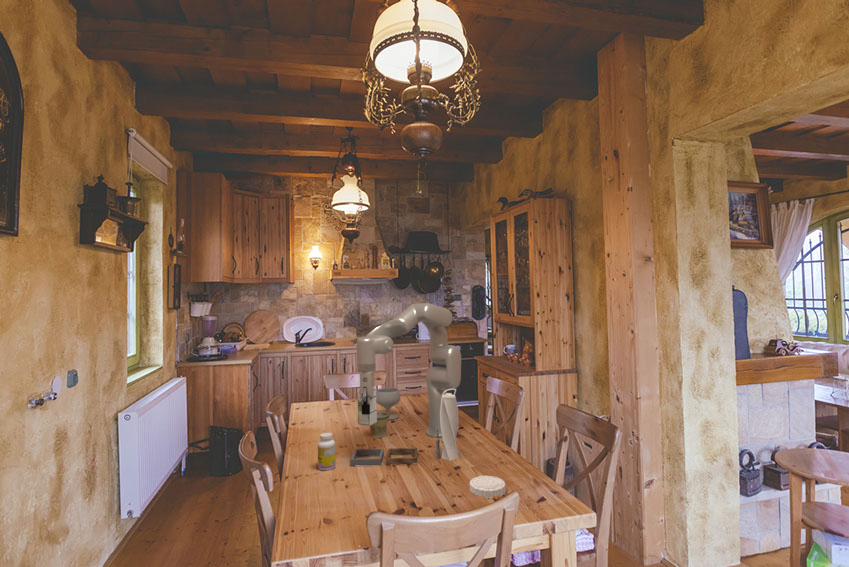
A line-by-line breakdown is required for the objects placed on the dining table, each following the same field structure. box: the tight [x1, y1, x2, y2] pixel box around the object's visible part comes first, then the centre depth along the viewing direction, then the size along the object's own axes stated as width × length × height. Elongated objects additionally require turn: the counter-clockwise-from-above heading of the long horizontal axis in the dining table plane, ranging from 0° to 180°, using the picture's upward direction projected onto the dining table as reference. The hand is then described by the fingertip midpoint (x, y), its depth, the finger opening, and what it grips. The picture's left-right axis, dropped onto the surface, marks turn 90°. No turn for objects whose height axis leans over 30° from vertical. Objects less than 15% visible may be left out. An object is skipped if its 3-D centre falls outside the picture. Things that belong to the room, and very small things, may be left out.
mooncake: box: [468, 474, 507, 498], centre depth 147 cm, size 12×12×4 cm
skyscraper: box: [435, 388, 460, 461], centre depth 177 cm, size 8×8×28 cm
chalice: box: [376, 387, 401, 421], centre depth 242 cm, size 14×14×15 cm
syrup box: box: [356, 386, 378, 427], centre depth 179 cm, size 6×6×14 cm
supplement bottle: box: [317, 432, 336, 471], centre depth 171 cm, size 7×7×13 cm
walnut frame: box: [385, 447, 418, 466], centre depth 178 cm, size 12×12×2 cm
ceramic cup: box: [369, 411, 390, 439], centre depth 211 cm, size 13×10×10 cm
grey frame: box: [349, 448, 385, 467], centre depth 178 cm, size 12×12×2 cm
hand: (367, 411), depth 178 cm, fingers closed on syrup box, 7 cm apart
